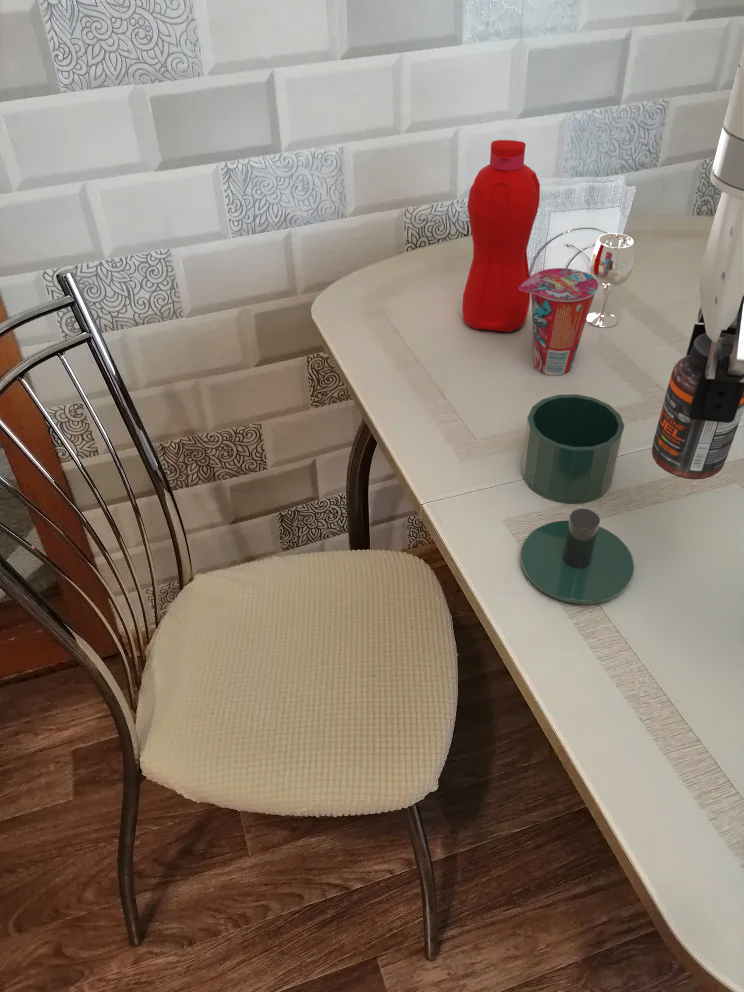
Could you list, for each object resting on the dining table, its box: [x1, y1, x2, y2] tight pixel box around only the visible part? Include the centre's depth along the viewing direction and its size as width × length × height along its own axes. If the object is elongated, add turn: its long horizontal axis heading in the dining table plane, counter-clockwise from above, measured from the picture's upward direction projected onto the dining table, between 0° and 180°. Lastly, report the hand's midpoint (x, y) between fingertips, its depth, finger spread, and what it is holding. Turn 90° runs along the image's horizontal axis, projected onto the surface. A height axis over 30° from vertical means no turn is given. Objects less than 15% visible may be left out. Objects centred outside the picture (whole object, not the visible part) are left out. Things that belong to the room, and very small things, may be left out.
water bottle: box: [461, 139, 541, 333], centre depth 109 cm, size 9×11×25 cm
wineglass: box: [586, 232, 635, 328], centre depth 111 cm, size 6×6×12 cm
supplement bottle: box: [651, 333, 744, 480], centre depth 64 cm, size 6×6×11 cm
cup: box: [519, 267, 599, 376], centre depth 103 cm, size 9×8×12 cm
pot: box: [521, 393, 625, 504], centre depth 88 cm, size 10×10×8 cm
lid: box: [520, 508, 635, 605], centre depth 78 cm, size 11×11×7 cm
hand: (707, 391), depth 63 cm, fingers closed on supplement bottle, 6 cm apart
